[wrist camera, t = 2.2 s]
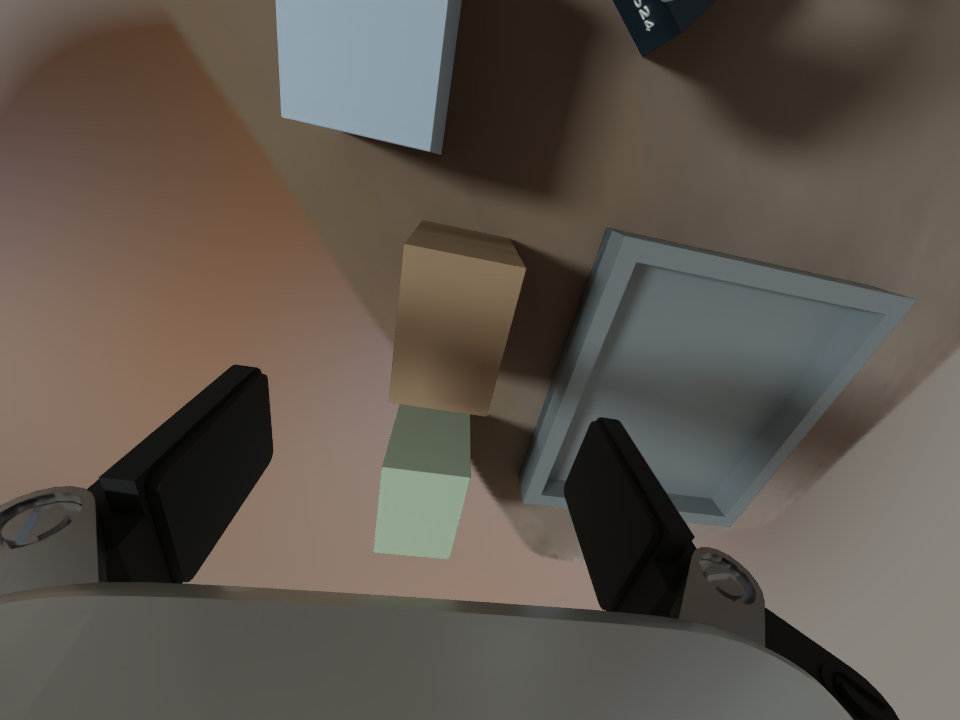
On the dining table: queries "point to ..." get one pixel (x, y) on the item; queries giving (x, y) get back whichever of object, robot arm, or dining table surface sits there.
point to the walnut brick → (453, 317)
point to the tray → (702, 368)
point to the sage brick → (423, 482)
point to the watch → (658, 19)
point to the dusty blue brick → (369, 66)
